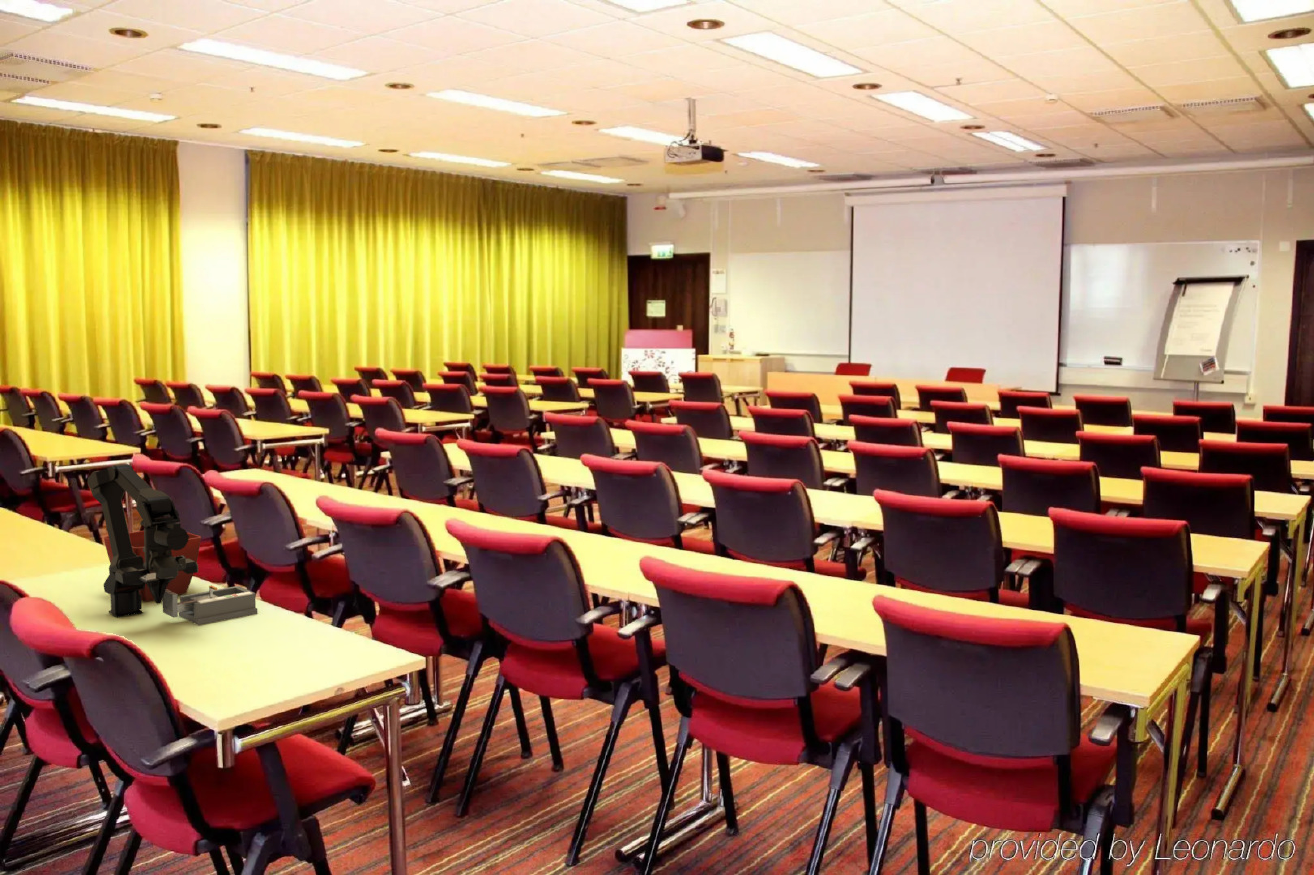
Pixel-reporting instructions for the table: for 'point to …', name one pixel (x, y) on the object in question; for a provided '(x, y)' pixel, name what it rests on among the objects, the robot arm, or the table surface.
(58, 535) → the table surface
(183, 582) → the plant pot
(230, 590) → the gauge frame
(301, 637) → the table surface
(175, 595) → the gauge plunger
